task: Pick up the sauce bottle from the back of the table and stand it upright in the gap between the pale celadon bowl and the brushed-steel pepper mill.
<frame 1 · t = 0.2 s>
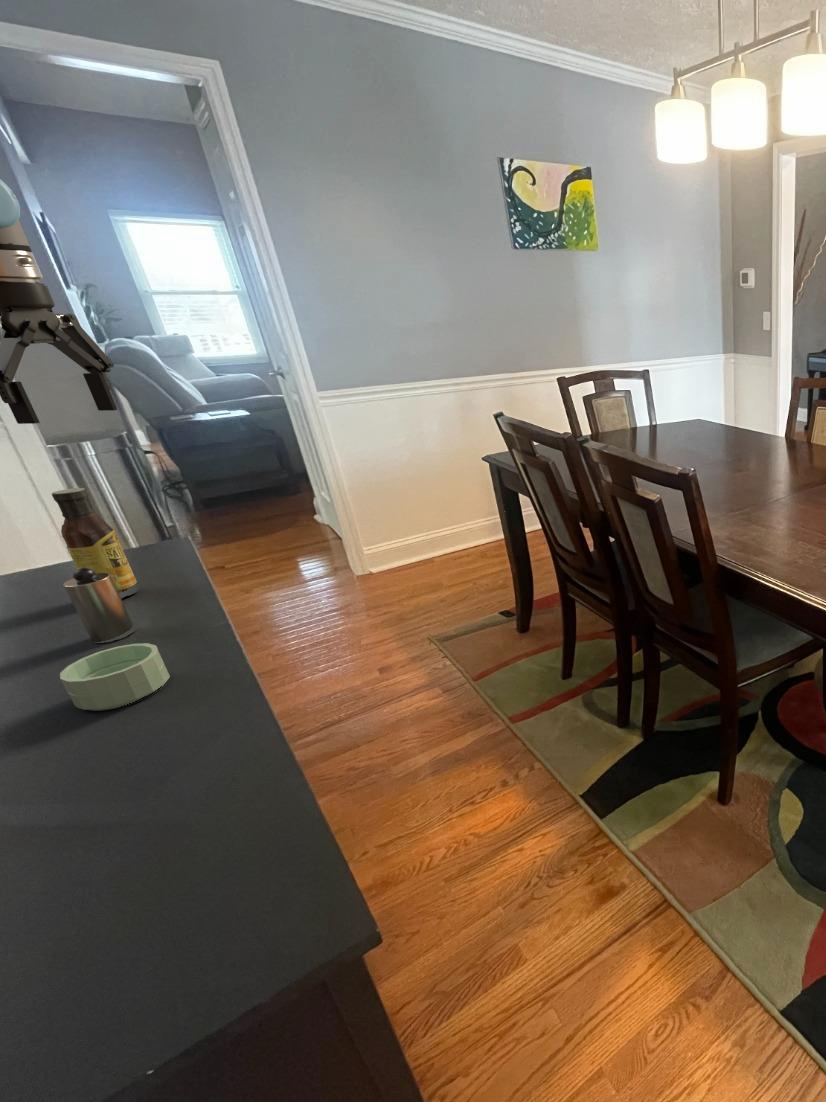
hand: (71, 416, 103), 31 cm above the table, tool pointing down, fingers open, 13 cm apart
bowl: (126, 692, 81), on the table
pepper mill: (114, 636, 95), on the table
sauce bottle: (118, 597, 108), on the table
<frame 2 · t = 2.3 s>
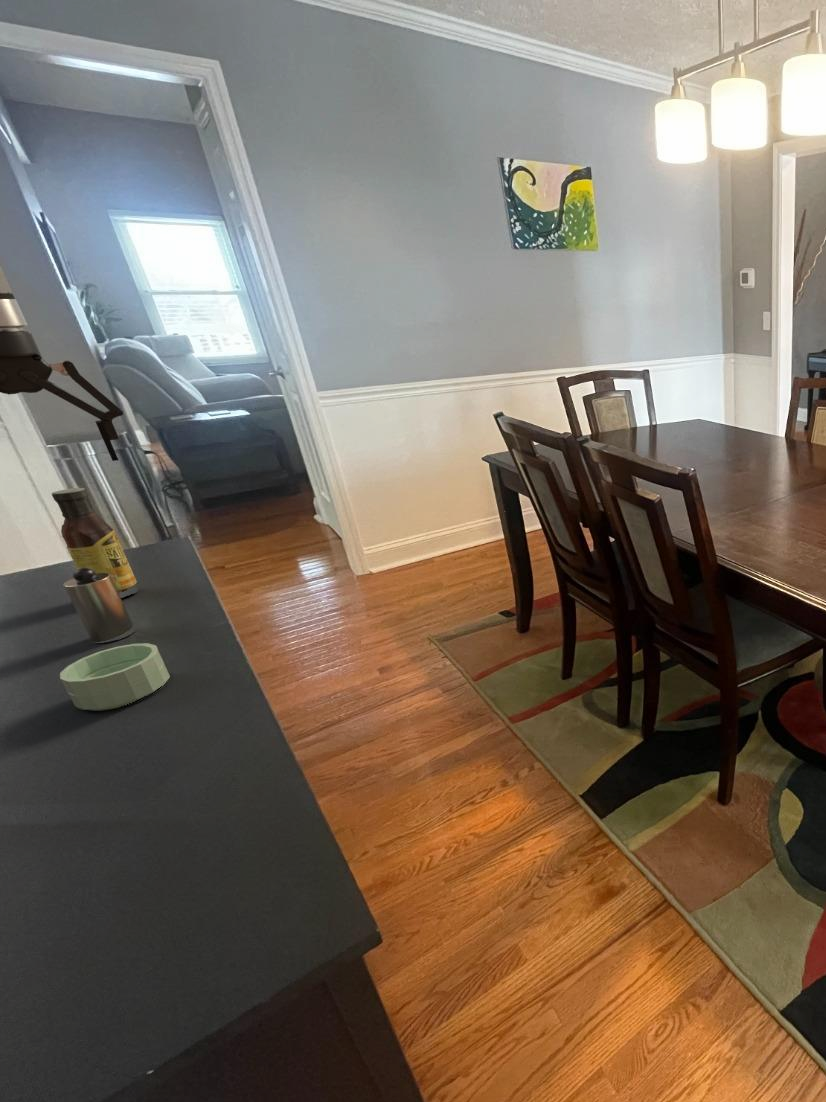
hand: (58, 467, 99), 24 cm above the table, tool pointing down, fingers open, 13 cm apart
nothing on the table moved.
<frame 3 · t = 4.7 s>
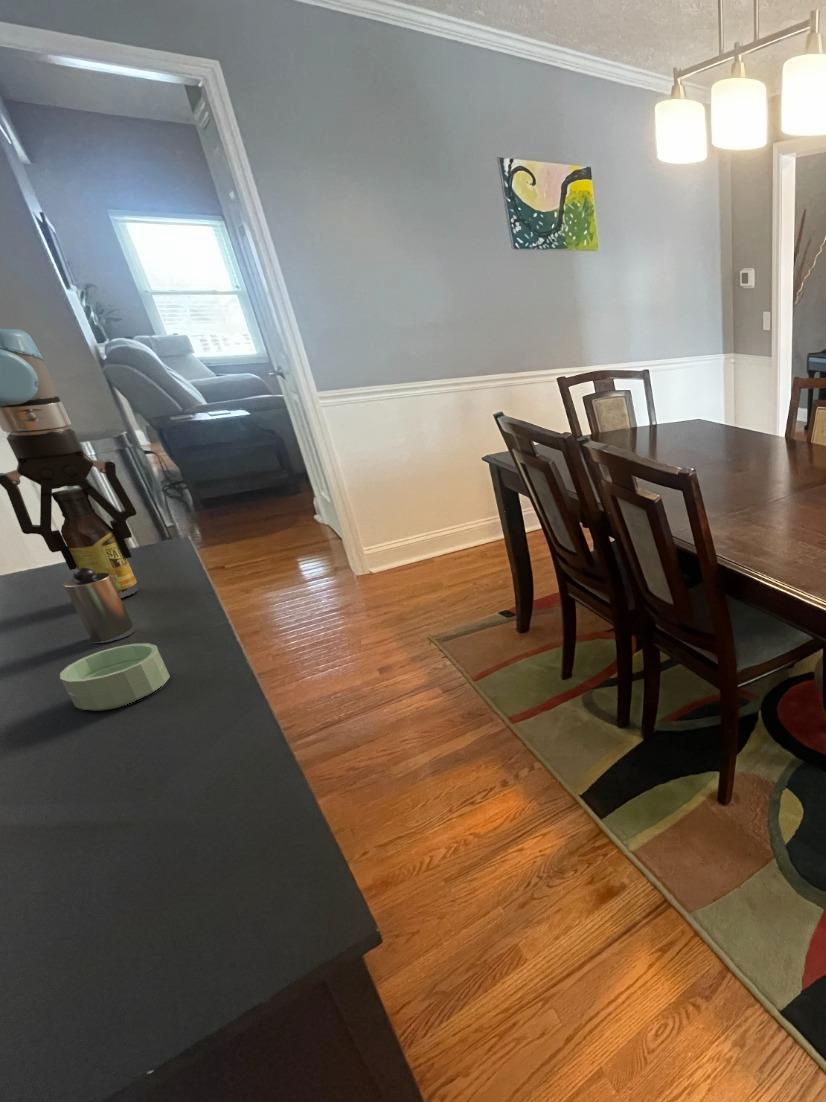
hand: (101, 561, 106), 7 cm above the table, tool pointing down, fingers closed on sauce bottle, 6 cm apart
sauce bottle: (118, 597, 108), on the table, touching gripper
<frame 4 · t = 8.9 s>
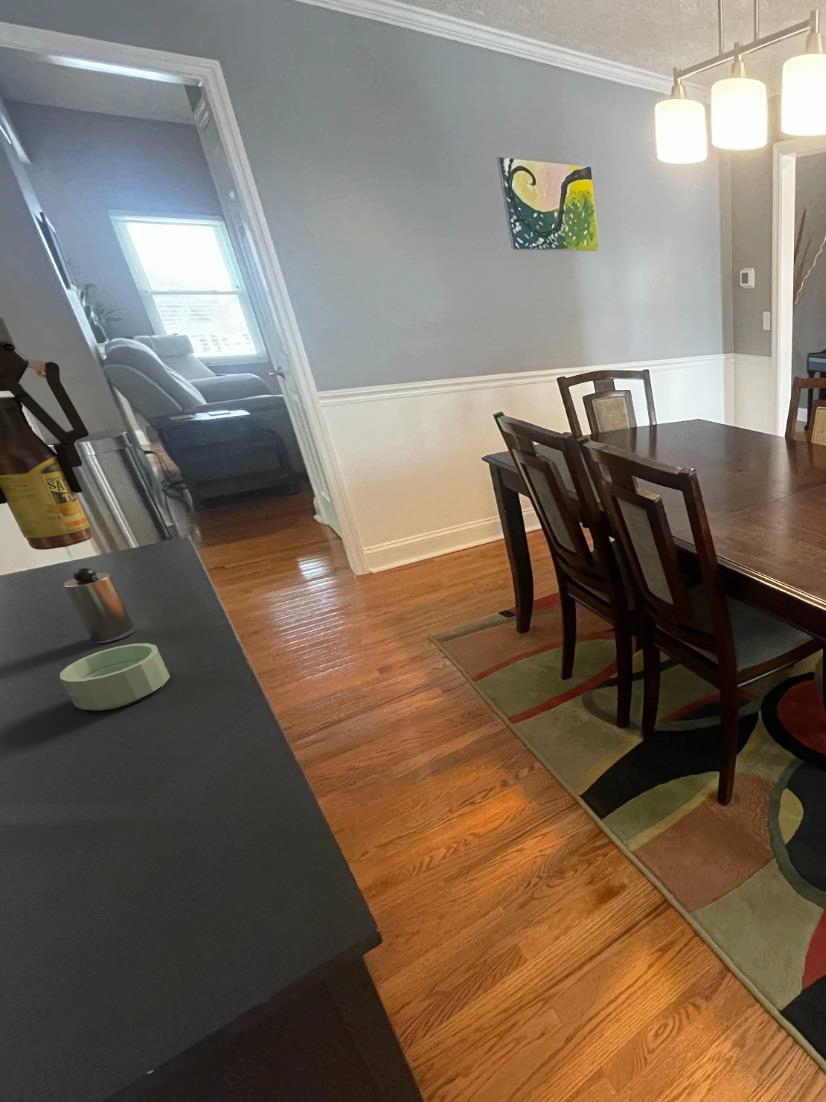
hand: (41, 495, 81), 25 cm above the table, tool pointing down, fingers closed on sauce bottle, 6 cm apart
sauce bottle: (64, 544, 84), point 18 cm above the table, touching gripper
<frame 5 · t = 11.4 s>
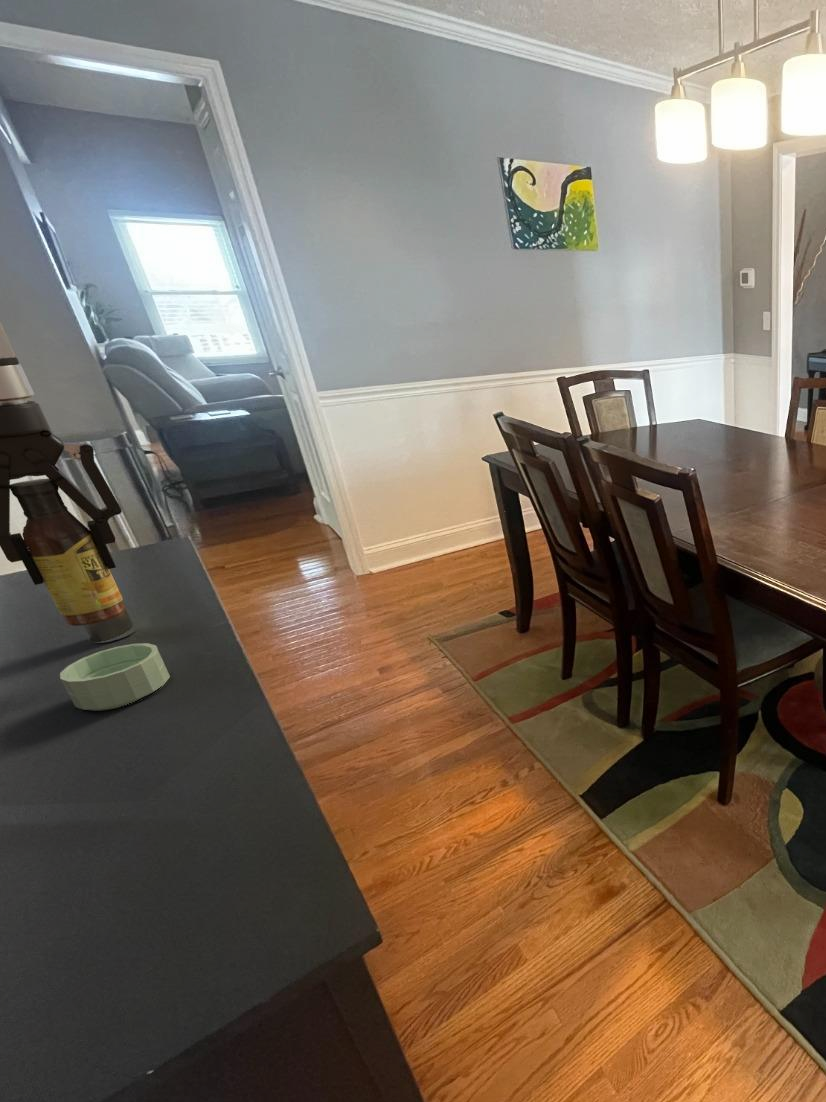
hand: (76, 573, 82), 14 cm above the table, tool pointing down, fingers closed on sauce bottle, 6 cm apart
sauce bottle: (98, 618, 85), point 7 cm above the table, touching gripper
when the fingers open (7 cm above the table, at t = 13.5 s): sauce bottle stays where it is, on the table.
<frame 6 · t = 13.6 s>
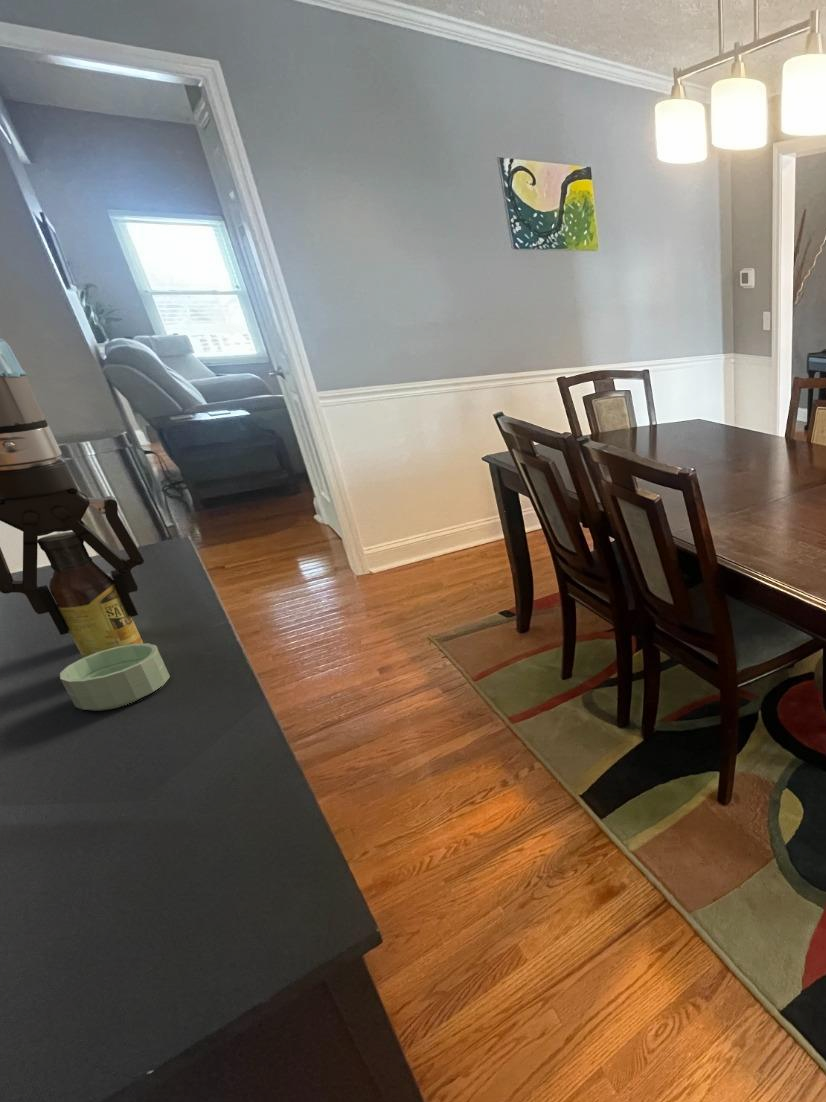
hand: (100, 621, 85), 7 cm above the table, tool pointing down, fingers open, 6 cm apart
sauce bottle: (120, 663, 88), on the table
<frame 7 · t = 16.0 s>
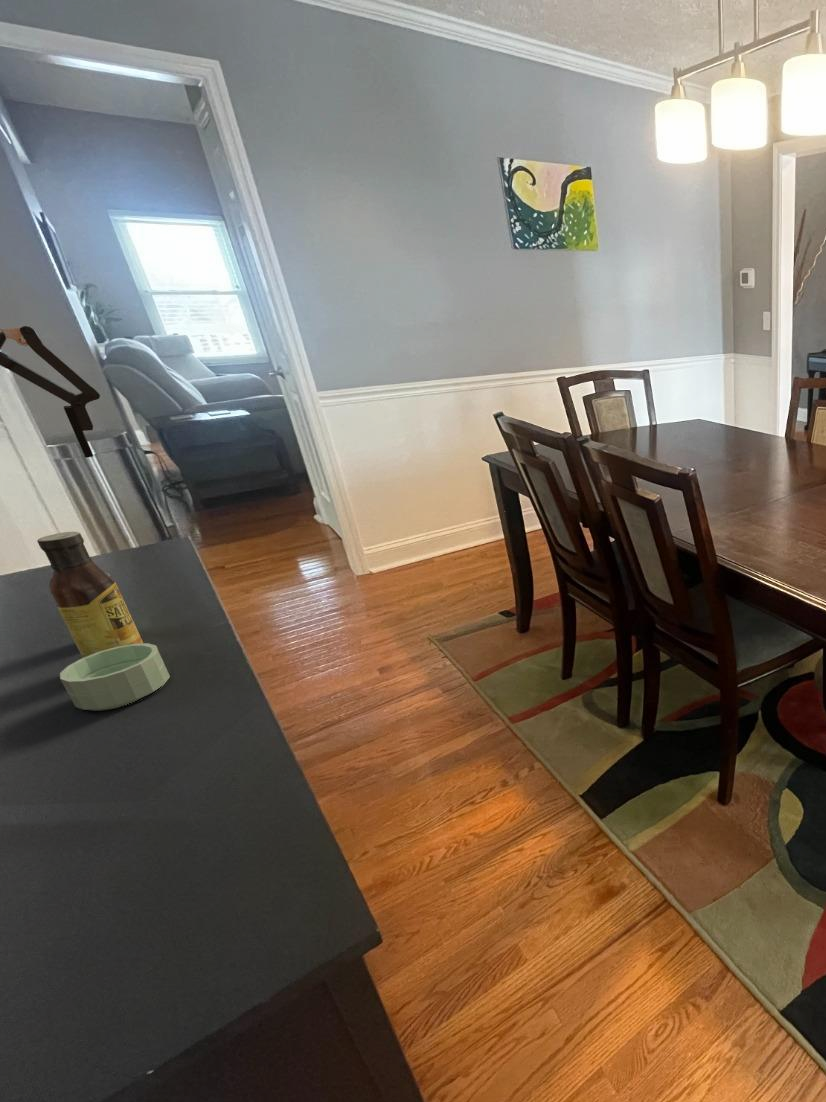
hand: (13, 464, 76), 30 cm above the table, tool pointing down, fingers open, 13 cm apart
nothing on the table moved.
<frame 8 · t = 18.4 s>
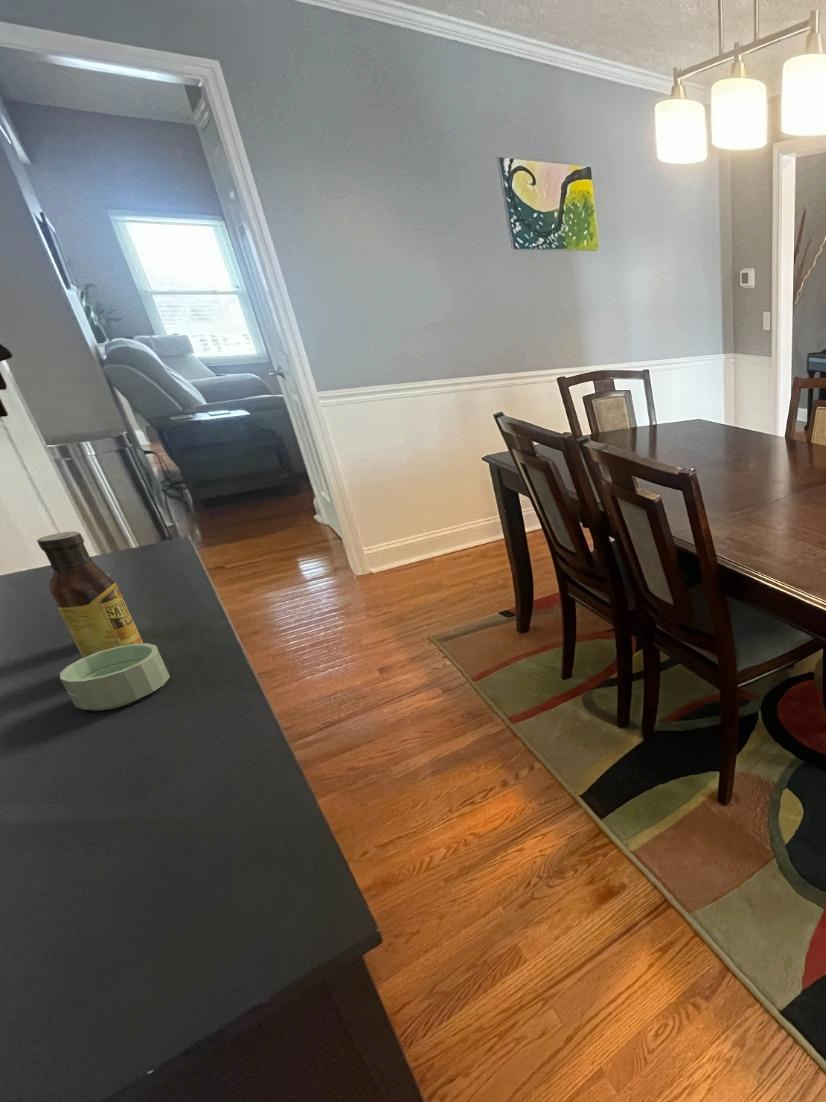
nothing on the table moved.
at the end: sauce bottle 0.0 cm from the target spot on the table beside the bowl, on the table; sauce bottle tilted 0° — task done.
